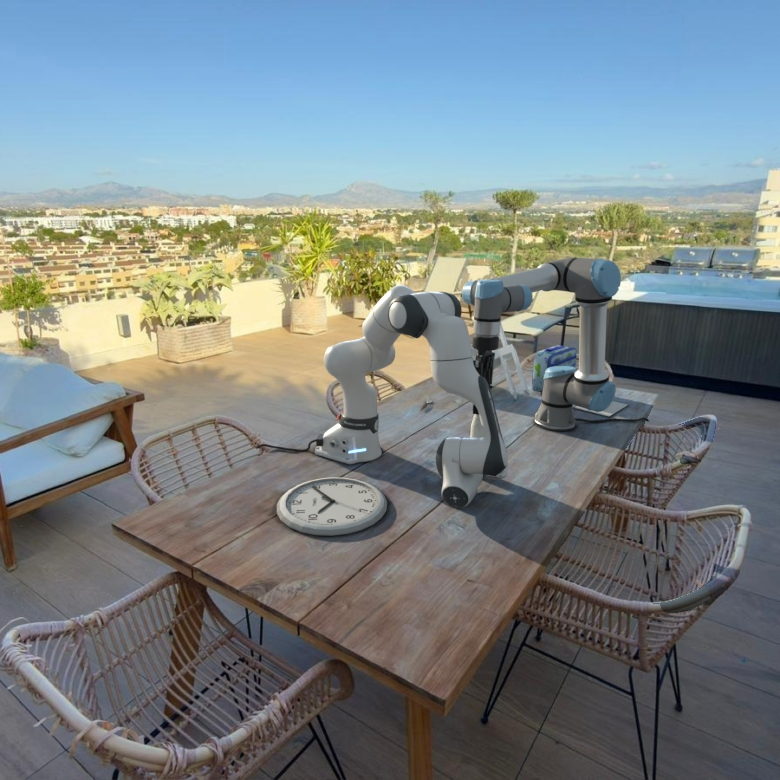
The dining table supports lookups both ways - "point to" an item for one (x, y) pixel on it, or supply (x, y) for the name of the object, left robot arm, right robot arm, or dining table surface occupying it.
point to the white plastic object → (502, 357)
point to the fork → (428, 402)
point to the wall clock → (331, 506)
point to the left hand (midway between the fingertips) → (477, 454)
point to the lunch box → (551, 363)
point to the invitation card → (607, 409)
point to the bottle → (476, 427)
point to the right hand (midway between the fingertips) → (480, 411)
